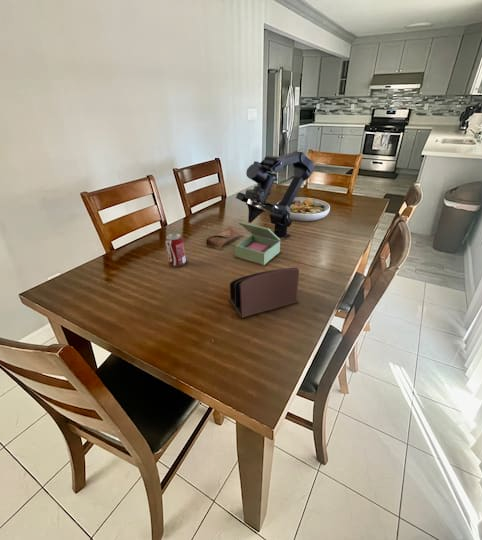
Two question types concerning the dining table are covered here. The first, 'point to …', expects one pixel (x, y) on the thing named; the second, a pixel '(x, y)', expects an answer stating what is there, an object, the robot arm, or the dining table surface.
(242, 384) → the dining table surface
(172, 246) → the soda can
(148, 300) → the dining table surface
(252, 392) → the dining table surface
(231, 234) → the sunglasses case
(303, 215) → the bowl
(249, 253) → the keepsake box
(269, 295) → the letter holder
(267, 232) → the lid
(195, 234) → the dining table surface
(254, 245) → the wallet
